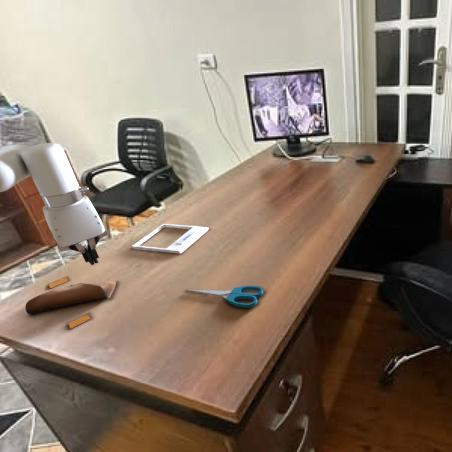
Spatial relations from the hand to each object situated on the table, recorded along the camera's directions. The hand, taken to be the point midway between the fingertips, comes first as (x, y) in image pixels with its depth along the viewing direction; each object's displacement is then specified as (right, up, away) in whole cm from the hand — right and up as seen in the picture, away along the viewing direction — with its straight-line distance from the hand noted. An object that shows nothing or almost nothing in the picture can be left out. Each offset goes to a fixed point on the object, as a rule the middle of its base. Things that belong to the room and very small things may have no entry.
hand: (93, 262), depth 91 cm
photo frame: (+10, +5, +23) cm, 25 cm away
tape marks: (-5, -10, -2) cm, 11 cm away
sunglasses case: (-4, -9, -1) cm, 10 cm away
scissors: (+35, -8, -5) cm, 36 cm away
